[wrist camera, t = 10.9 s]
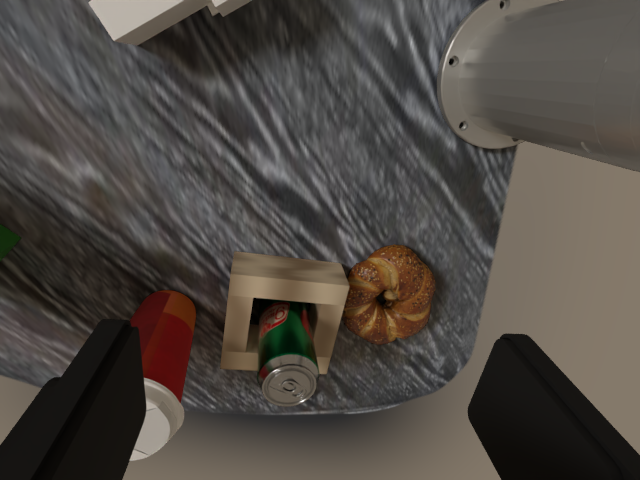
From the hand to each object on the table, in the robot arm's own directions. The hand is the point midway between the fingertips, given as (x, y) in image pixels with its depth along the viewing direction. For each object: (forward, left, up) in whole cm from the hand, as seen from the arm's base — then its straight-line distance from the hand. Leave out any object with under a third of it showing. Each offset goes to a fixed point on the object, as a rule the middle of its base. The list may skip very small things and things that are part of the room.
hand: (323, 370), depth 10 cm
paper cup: (+9, +18, -26) cm, 33 cm away
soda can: (-2, +15, -26) cm, 31 cm away
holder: (-2, +16, -26) cm, 31 cm away
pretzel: (-13, +13, -27) cm, 33 cm away
